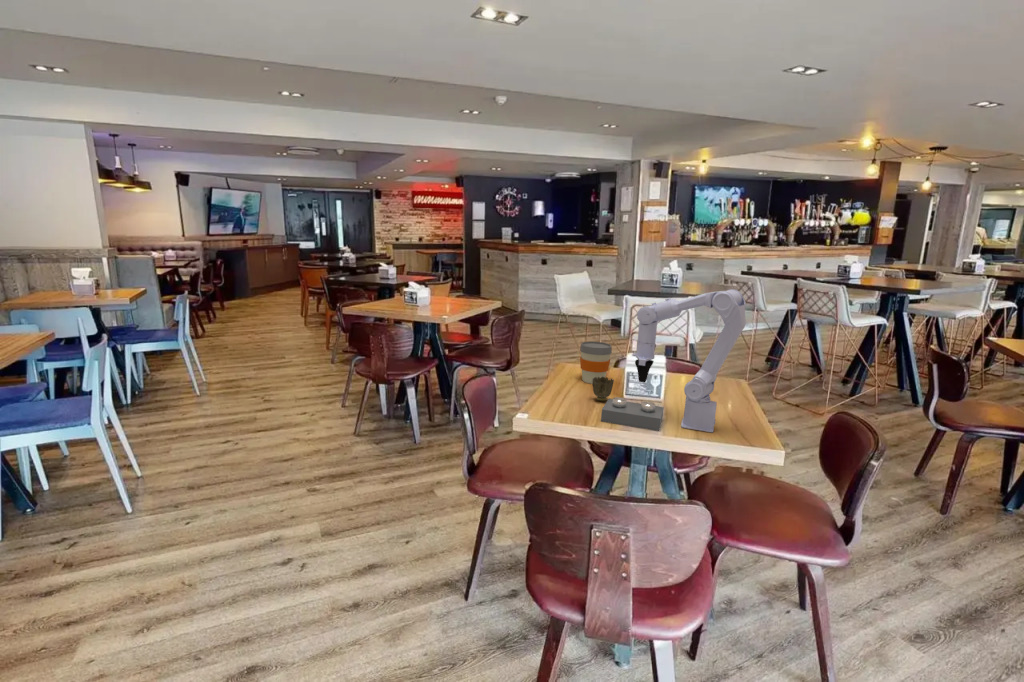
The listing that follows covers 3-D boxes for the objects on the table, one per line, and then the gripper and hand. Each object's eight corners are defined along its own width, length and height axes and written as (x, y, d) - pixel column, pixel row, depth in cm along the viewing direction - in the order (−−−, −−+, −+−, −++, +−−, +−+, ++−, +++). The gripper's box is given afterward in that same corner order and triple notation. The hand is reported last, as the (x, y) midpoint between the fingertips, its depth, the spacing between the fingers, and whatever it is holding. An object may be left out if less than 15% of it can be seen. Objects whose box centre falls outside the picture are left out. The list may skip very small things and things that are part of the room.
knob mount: (662, 418, 170) (663, 407, 169) (659, 431, 159) (660, 418, 158) (607, 409, 176) (608, 398, 175) (600, 421, 165) (601, 409, 164)
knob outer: (626, 412, 170) (627, 398, 169) (624, 416, 166) (625, 402, 165) (613, 409, 171) (614, 396, 170) (610, 414, 167) (611, 400, 166)
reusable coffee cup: (611, 385, 204) (615, 348, 201) (580, 384, 204) (582, 347, 201) (605, 377, 217) (608, 342, 214) (575, 375, 216) (578, 340, 213)
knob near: (654, 416, 167) (656, 402, 166) (653, 420, 163) (654, 406, 162) (640, 414, 168) (642, 400, 167) (639, 418, 164) (640, 404, 163)
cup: (586, 399, 186) (588, 378, 184) (600, 396, 191) (601, 375, 189) (602, 405, 180) (604, 383, 179) (616, 401, 185) (618, 380, 184)
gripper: (636, 336, 179) (633, 374, 182) (630, 344, 166) (627, 385, 169) (657, 339, 177) (653, 377, 180) (653, 347, 164) (649, 388, 166)
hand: (642, 381), depth 174 cm, fingers closed
